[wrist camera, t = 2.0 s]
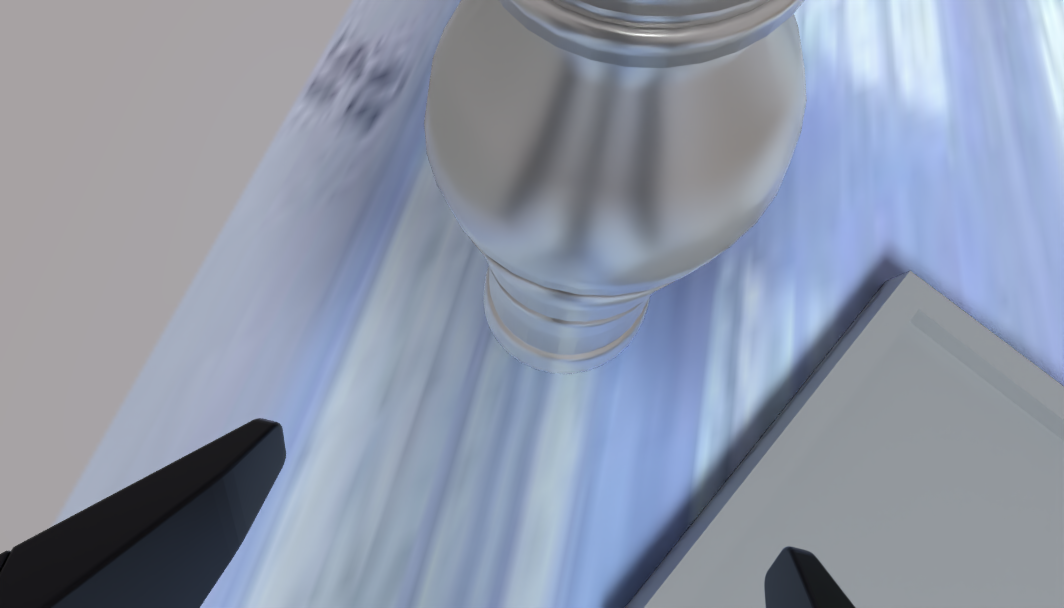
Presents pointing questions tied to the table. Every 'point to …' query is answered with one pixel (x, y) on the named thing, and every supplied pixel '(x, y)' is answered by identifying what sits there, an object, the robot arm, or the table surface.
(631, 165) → the plastic bottle
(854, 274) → the table surface
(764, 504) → the tray
